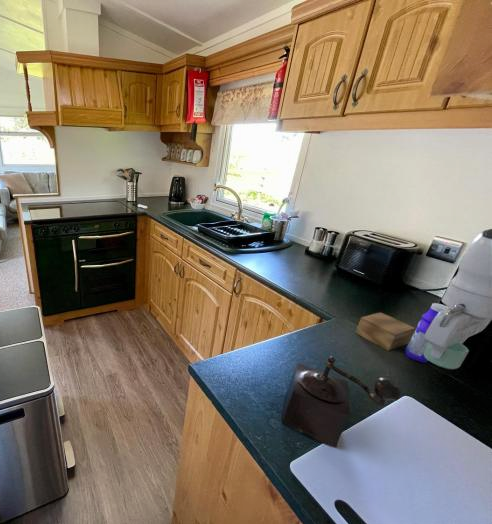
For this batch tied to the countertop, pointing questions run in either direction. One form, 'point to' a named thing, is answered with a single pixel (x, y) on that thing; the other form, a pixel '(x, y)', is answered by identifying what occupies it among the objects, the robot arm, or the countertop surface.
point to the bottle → (422, 334)
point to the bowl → (448, 355)
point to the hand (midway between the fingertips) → (444, 352)
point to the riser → (384, 330)
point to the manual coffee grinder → (326, 401)
